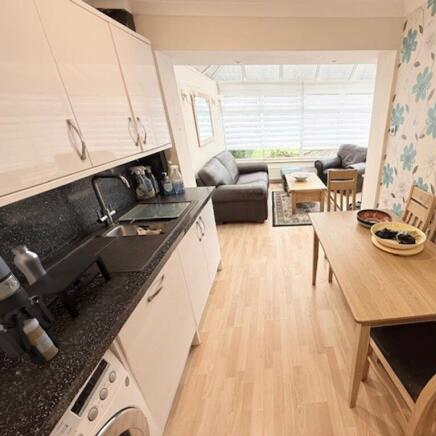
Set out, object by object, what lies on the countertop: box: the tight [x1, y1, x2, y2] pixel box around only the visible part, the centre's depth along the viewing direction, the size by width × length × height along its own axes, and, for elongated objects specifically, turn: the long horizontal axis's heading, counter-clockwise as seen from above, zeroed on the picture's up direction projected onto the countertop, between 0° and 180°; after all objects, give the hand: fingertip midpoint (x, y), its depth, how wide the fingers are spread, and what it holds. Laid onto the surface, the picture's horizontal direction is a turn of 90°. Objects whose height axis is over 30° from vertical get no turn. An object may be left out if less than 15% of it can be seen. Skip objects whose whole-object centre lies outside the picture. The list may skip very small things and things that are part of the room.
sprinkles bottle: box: [23, 318, 59, 362], centre depth 68 cm, size 5×5×13 cm
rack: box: [24, 254, 112, 319], centre depth 91 cm, size 14×22×12 cm, turn 8°
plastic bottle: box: [11, 244, 47, 286], centre depth 96 cm, size 6×7×20 cm
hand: (47, 354), depth 70 cm, fingers closed on sprinkles bottle, 4 cm apart
